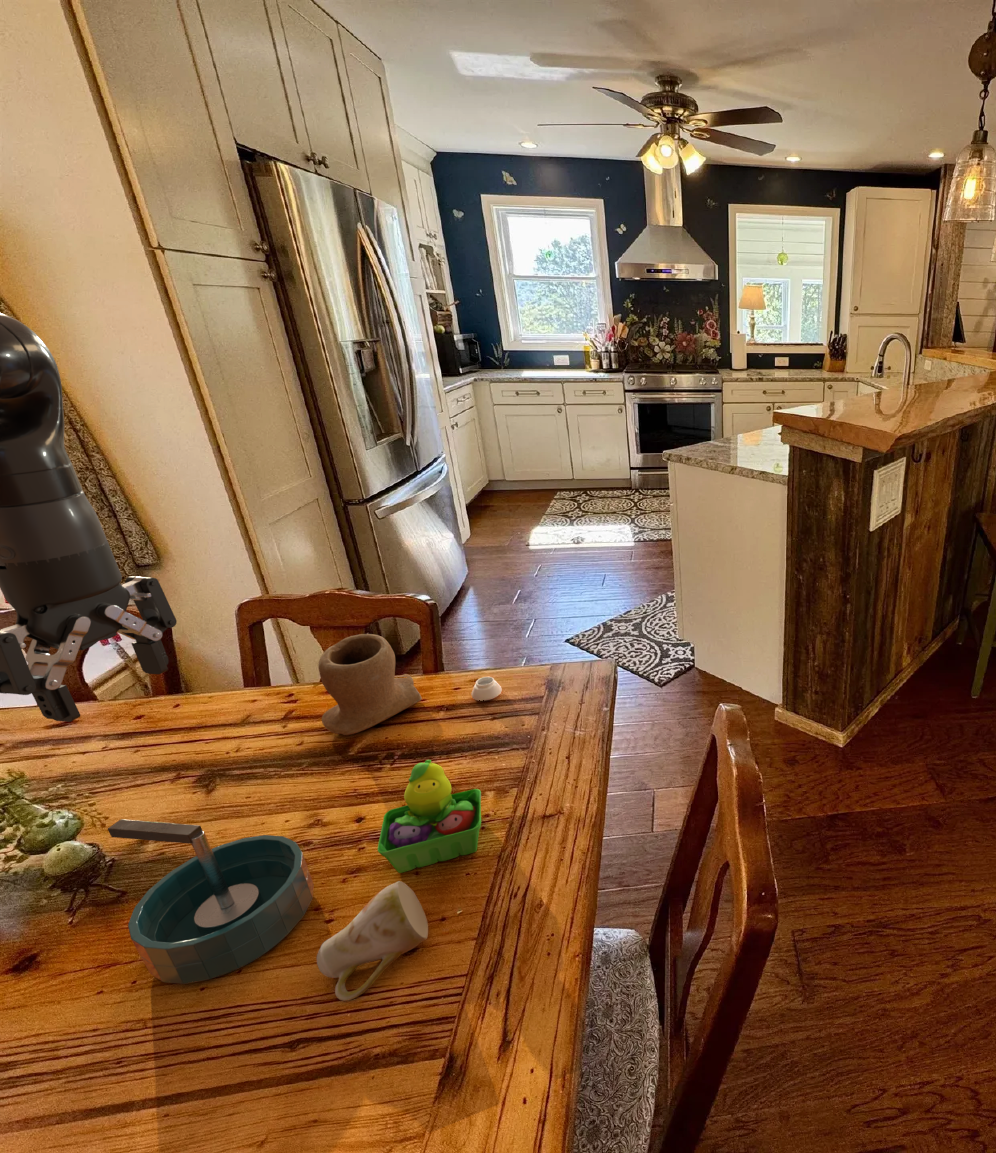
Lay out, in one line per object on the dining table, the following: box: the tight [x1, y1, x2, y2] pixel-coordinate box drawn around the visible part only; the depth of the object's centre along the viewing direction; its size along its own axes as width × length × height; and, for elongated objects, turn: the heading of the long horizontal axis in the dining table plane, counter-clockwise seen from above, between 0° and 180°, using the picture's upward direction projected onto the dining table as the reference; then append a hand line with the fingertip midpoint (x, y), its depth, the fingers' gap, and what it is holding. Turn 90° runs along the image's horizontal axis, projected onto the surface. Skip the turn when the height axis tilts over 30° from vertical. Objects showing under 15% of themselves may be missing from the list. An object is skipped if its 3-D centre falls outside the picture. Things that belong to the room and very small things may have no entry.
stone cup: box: [317, 633, 423, 736], centre depth 103 cm, size 15×12×15 cm
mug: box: [316, 880, 429, 1002], centre depth 65 cm, size 8×10×10 cm
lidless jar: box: [471, 676, 503, 702], centre depth 111 cm, size 5×3×5 cm
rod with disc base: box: [107, 818, 264, 937], centre depth 66 cm, size 12×6×13 cm, turn 86°
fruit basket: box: [377, 759, 482, 874], centre depth 78 cm, size 11×9×11 cm
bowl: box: [127, 834, 315, 985], centre depth 68 cm, size 14×14×6 cm
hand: (114, 694), depth 62 cm, fingers open, 8 cm apart
